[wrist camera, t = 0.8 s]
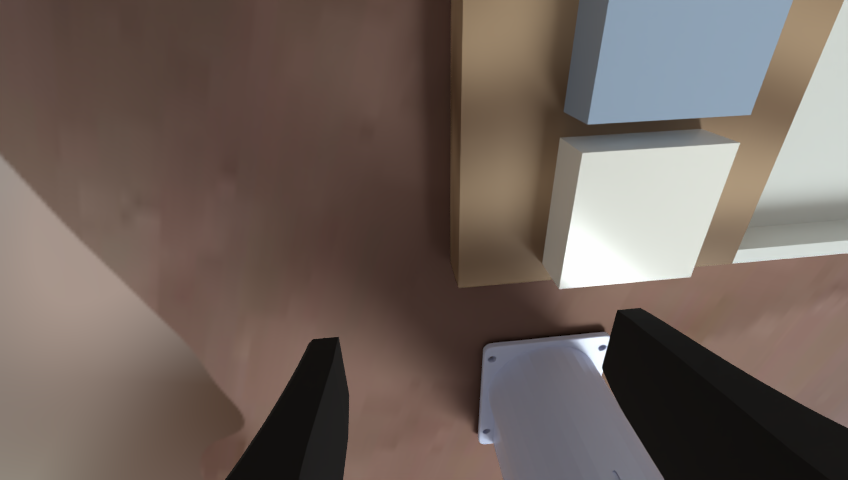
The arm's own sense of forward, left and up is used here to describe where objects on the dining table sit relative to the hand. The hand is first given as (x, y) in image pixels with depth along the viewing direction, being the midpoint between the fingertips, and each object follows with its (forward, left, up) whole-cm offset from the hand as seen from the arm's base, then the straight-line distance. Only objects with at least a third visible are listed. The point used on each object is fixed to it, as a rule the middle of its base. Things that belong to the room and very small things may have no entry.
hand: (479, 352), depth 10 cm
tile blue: (+7, -8, -8) cm, 13 cm away
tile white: (0, -8, -8) cm, 11 cm away
